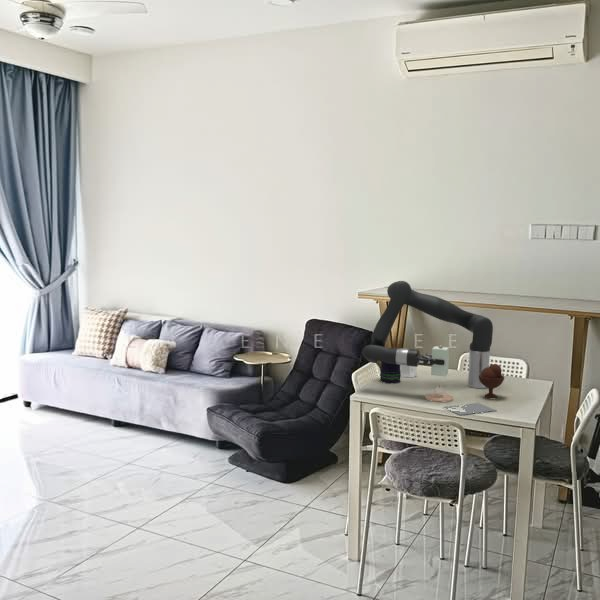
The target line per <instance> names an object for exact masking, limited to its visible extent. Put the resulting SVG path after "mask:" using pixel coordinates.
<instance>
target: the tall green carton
mask: <svg viewBox="0 0 600 600" xmlns="http://www.w3.org/2000/svg"><path fill="white" fill-rule="evenodd" d="M431 354H432V359H435V360H436V359H439V360H444V361H445V362H444V365H436V364H435V365H432V366H431V365H430V366H431V367H430V369H431V370H430V376H436V377H444V378H445V377H447V376H448V373H449V363H450V362H449V361H450V359H449V358H450V347H446V346H444V345H442V344H438V346H436V345H435V346H433V347H432V348H431Z"/></svg>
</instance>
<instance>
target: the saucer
mask: <svg viewBox="0 0 600 600" xmlns="http://www.w3.org/2000/svg"><path fill="white" fill-rule="evenodd" d="M425 398H426V399H425ZM424 399H425V400H427V399H428V400H427V401H429V400H432V401H431V402H434V401H450V400H452V399H453V400H454V396H453V395H452V394H450V393H444V392H443V397H436V396H435V392H427V393H426V394H424ZM453 400H452V401H453ZM450 402H451V401H450Z"/></svg>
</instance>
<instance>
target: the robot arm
mask: <svg viewBox="0 0 600 600" xmlns="http://www.w3.org/2000/svg"><path fill="white" fill-rule="evenodd" d="M386 292H387V296H388V298H390V300H389V302H388V304H387V306H386V308H385V310H384V311H383V313H382V315H381V316H380V317H379V318H378V320H377V323H376V325H375V326H374V329H373V331H372V334H371V342H370V344H368V345H365V346H364V347H363V349H362V356H363V358H364V359H365V360H367V362H370V363H371V364H372V363H373V364H375V363H377V362H379V361H380V362H381V361H384V362H386V363H390V364H399V365H404V366H413V367H419V365H421V366H422V365H423V366H432V365H435V364H436V365H444V362H445V361H444V360H439V359H436V360H435V359H432V353H427V352H425V353H423V354H420V350H419V349H414V348H413V349H412V348H397V347H386V342H387V340H388V337H389V336H390V333H391V330H392V328H393V327H394V324H395V321H396V320H397V318H398V316H399V314H400V312H401V311H402V308H403V307H404V306H405V305H407V306H409V307H411V308H414V309H416V310H418V311H420V312H422V313H424V314H427V315H428V316H431V317H433V318H435V319H438V320H440V321H443V322H447V323H452V324H455V325H458V326H460V327H462V328H464V329H466V330H468V331H469V332H471V333H472V341H471V342H470V344H469V357H468V376H467V377H468V378H467V379H468V380H467V382H468V383H467V386H468V387H470V388H475V389H486V388H488V387H486V386H484V385H483V384H482V383H481V382H480V380H479V375H480V374H481V372H482V370H483V369H484V368H486V367H489V366H490V357H491V356H490V355H491V347H492V342H493V334H494V333H493V331H494V325H493V322H492V320H491V319H490V318H488V317H486V316H484V315H480V314H476V313H473V312H470V311H467V310H464V309H462V308H461V307H459V306H457V305H455V304H454V303H452V302H450V301H448V300H445V299H443V298H441V297H439V296H436V295H435V296H434V295H431V294H427V293H422V292H419V291H416V290H414V289H412V287H411V285H410V284H409V283H408V282H407V281H405V280H398V281H394V282H392V283H391V284H390V285H389V286H388V288H387V291H386Z"/></svg>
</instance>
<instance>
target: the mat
mask: <svg viewBox="0 0 600 600" xmlns="http://www.w3.org/2000/svg"><path fill="white" fill-rule="evenodd" d="M465 404H466V405H464V406H462V407H461V408H463V410H464V409H465V411H466V412H460V411H452V412H451V410H450V411H449V412H451V413H453V414H456V415H458V416H460V417H461V416H469V415H473V414H472V413H473V412H474V413H478V414H482V413H481V412H486V413H491V412H490V411H495V412H497V409H494V408H492V407H490V406H487V405H484V404H483V403H480V402H476V403H465ZM459 405H460V404H457V406H456V405H447V406H443V407H444V408H446V409H448V408H452V407H459ZM448 406H449V407H448ZM465 406H467V407H465ZM444 408H443V409H444ZM446 409H445V410H446ZM452 409H456V408H452Z"/></svg>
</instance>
